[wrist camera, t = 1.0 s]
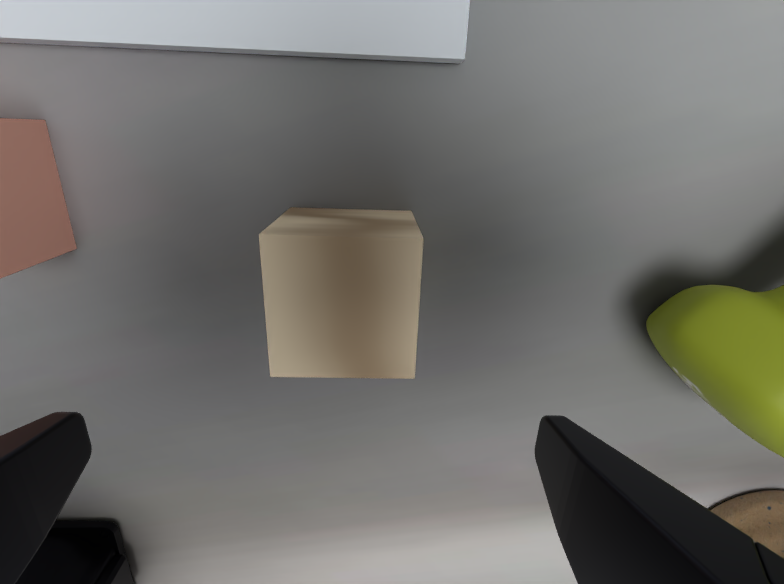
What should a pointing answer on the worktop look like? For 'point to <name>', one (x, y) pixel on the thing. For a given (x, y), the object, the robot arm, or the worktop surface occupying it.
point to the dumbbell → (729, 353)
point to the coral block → (30, 198)
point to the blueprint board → (249, 26)
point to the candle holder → (757, 517)
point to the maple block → (342, 292)
